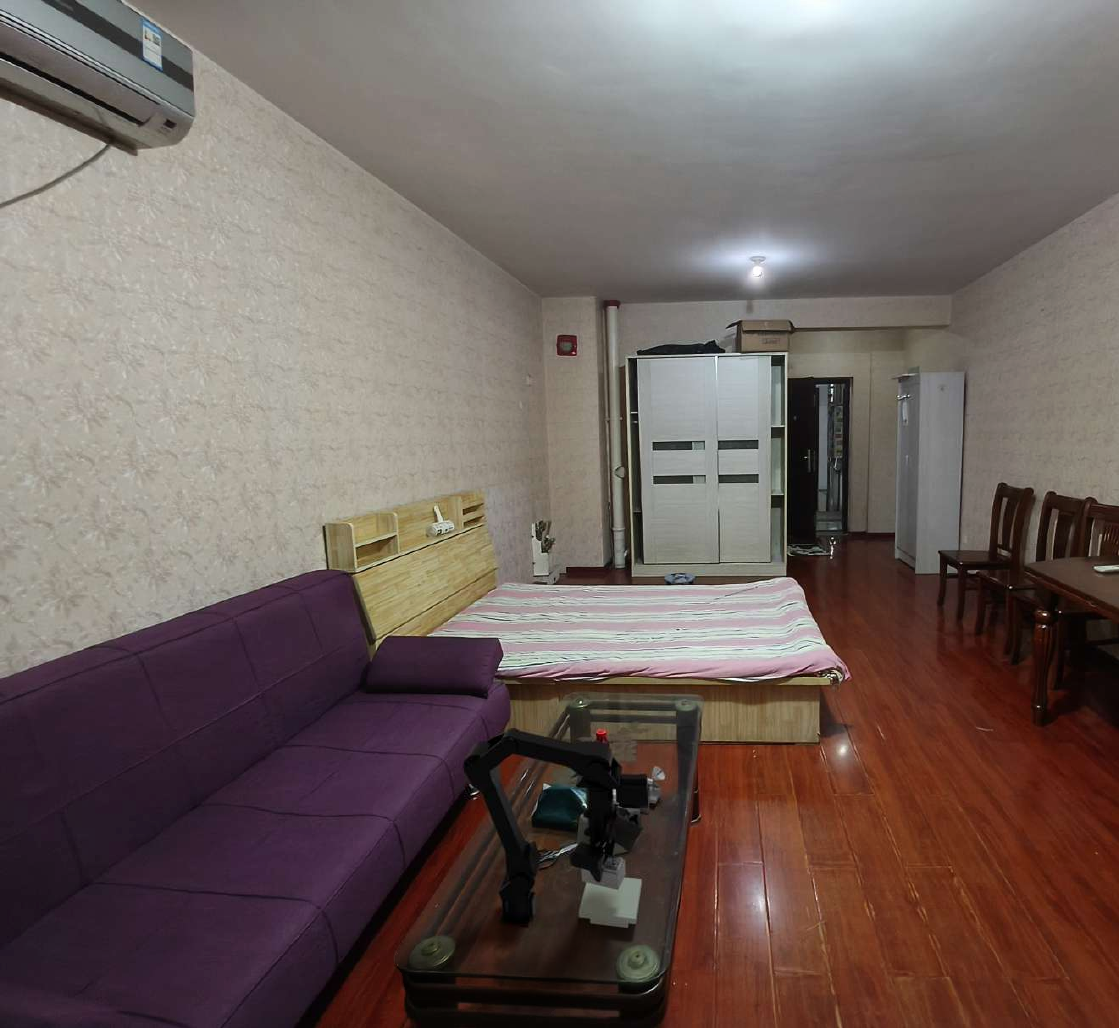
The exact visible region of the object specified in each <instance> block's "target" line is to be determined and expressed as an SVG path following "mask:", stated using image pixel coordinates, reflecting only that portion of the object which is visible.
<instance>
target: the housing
mask: <svg viewBox="0 0 1119 1028" xmlns="http://www.w3.org/2000/svg"><path fill="white" fill-rule="evenodd" d="M605 855H606V856H609V857H608V859H607V860H606V862H605V863H604V865H603V866H602V877H601V882H600V883H599V882H596V881H595V880H594V878H593V876H592V875H591V873H590V871H588V870H585V869H581V868H580V869H581V870H580V871H581V882H583V883H586V882H587V883H591V884H595V885H599V886H603V887H607V888H611V889H615V890H619V888H620V885H621V883H622V881H623V879H624V877H625V878H626V874H627V873H626V859H624V858H623V857H621V856H618V855H617V856H616V855H614V856H612V855H608V854H605Z"/></svg>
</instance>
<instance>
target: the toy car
mask: <svg viewBox="0 0 1119 1028" xmlns="http://www.w3.org/2000/svg"><path fill="white" fill-rule="evenodd" d="M665 778H666V776H665V773H664V770H663V769H662V768H660V767H659V766H656V765H655V766H654V767H653V770H652V772H651V778H648V777H647V779H648V784H649V804H656V803H657V801H658V800H659V797H660V795H661V793H662V789H661V788H660V786H659V784H658V783H656V781H663V780H665ZM613 798H614V805H618V806H619V803H617V802H616V789H613ZM641 812H643V813H642V814H648V813H649V812H650V808H649V809H640V813H641Z"/></svg>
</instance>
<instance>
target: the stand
mask: <svg viewBox="0 0 1119 1028" xmlns="http://www.w3.org/2000/svg"><path fill="white" fill-rule="evenodd" d="M642 882H643V880H642V879H641V878H632V877H626V876H625V877H624V879H623V881H622V883H621V885H620V888H619V890H615V889H611V888H607V887H603V886H599V885H595V884H591V883H587V882H585V887H584V890H583V894H582V898H581V901H580V904H579V909H578V918H582V919H583V918H584V919H590V924H595V925H601V926H602V925H603V926H611V927H617V928H626V929H628V928H629V924H632V925H637V920H638V913H639V912H638V911H639V905H640V898H641V894H642V893H641V892H642V886H643V885H642Z"/></svg>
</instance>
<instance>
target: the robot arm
mask: <svg viewBox="0 0 1119 1028" xmlns="http://www.w3.org/2000/svg"><path fill="white" fill-rule="evenodd" d="M613 754H614V753H613V750H612V749H611V748H610V747H609V745H608V744H607V743H605V742H602V741H594V740H593V741H591V740H584V741H579V742H569V741H565V740H561V739H557V738H553V737H547V736H543V735H539V734H535V733H530V732H526V731H522V730H520V729H518V728H517V727H511V728H508V729H507V730H506V731H504V732H502V733H499V734H496V735H494V736H492V737H490V738H488V739H487V740H486V741H483V740H482V741H478V742H476V743H475V744H474V745H472V748H471V749H470V751H469V753H468V754H467V756H466V758H465V759H464V761H463V764H462V771H463V773H464V775H465V777H466V779H467V780H468V782H469V784H470V785H471V786H472V787H473V788H475V790H477V791H478V792H479V793H480V794H481V796H482V798H483V801H484V804H485V806H486V809H487V812H488V814H489V816H490V818H491V822H492V824H493V825H494V828H495V831H496V833H497V836H498V838H499V841H500V843H501V845H502V848H503V851H504V858H505V874H504V876H503V880H502V883H501V886H500V888H499V891H498V896H499V898H500V900H501V909H502V914H501V917H500V919H499V922H500V923H502V924H509V925H518V926H523V927H524V926H525V927H529V926H530V924H531V920H532V918H534V916H535V913H536V910H537V902H536V892H534V891H533V889H534V886H535V884H536V880H537V876H538V874H539V870H540V866H541V860H542V858H543V857H542V854H541V853H540V851H539V850H538V847H537V846H538V845H537V842H536V841H535V840H533V841H532V842H529V841H527V840H526V839H525V837H524V836H523V833H522V831H521V828H520V825H519V823H518V821H517V818H516V816H515V814H514V811H513V809H512V806H511V803H510V801H509V799H508V796H507V794H506V791H505V789H504V786H503V784H502V781H501V770H500V768H501V767H500V764H501V763H503V762H504V761H505V760H506V759H508V758H509V757H511V756H512V755H515V756H521V757H525V758H528V759H533V760H537V761H542V762H545V763H550V764H554V765H558V766H563V767H565V768H568V769H570V770H572V771H573V772H574V773H575V774H577V779H576V783H575V788H577V789H585V800H586V802H585V803H586V806H585V807H586V808H585V809H584V811H583V812H582V814H583V817H585V818H587V825H588V826H587V828H586V829H585V830H584V835H585V836H589V837H590V839H589V843H591V844H586V843H582V842H580V843H579V844H578V845H577V844H576V845H575V847H574V848H573V850H572V851H571V852H570V854H569V864H570V866H571V867H575V868H579V869H585V870H588V871H590V873H591V875H592V876H593V878H594V880H595V881H596V882H599V883H600V882H601V877H602V866H603V865H604V863H605V862H606V860H607V859H608V857H609V856H606V855H605V854H608V855H612V856H615V855H614V851H615V847H616V843H617V844H618V845H620V846H622V847H623V848H624V849H625V850H627V851H629V852H630V853H631V852H633V851H634V848H635V847H636V845H637V843H638V842H639V840H640V837H641V835H642V832H643V830H644V827H643V826H644V824H642V823H643V822H642V815H641V813H640V814H638V813H637V812H633V813H632V814H630V813H629V811H628V810H627V809H624V808H632V809H649V810H650V803H649V784H648V779H649V778H648V773H637V774H635V773H634V774H631V773H630V774H629V773H623V766H622V765H621V764H620V763H619V761H618V760H617V759H616V758H615V757H614V755H613ZM647 778H648V779H647ZM613 789H616V802H617V803H619V805H618V806H619V807H617V805H615V804H614V798H613ZM620 807H622V808H620ZM629 852H628V853H629Z"/></svg>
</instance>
